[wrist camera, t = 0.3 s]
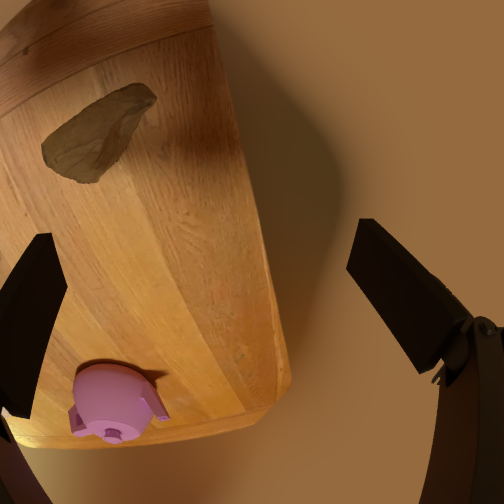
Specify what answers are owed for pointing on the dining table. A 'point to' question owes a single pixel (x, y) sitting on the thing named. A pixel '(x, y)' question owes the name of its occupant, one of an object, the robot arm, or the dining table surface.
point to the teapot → (113, 403)
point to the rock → (97, 134)
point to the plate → (5, 413)
